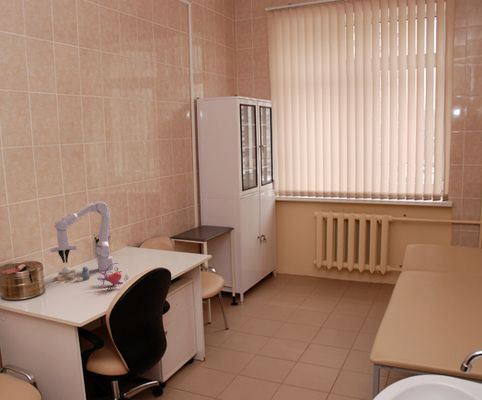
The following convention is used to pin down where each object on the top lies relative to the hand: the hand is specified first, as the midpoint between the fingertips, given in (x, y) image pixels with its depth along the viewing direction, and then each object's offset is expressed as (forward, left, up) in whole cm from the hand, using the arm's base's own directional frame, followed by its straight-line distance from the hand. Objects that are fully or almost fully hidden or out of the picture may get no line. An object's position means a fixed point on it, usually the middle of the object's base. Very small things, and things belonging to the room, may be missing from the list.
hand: (65, 262), depth 285 cm
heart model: (-27, +26, -11) cm, 39 cm away
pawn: (-12, +8, -9) cm, 17 cm away
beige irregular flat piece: (-5, +4, -10) cm, 12 cm away
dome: (0, 0, -9) cm, 9 cm away
